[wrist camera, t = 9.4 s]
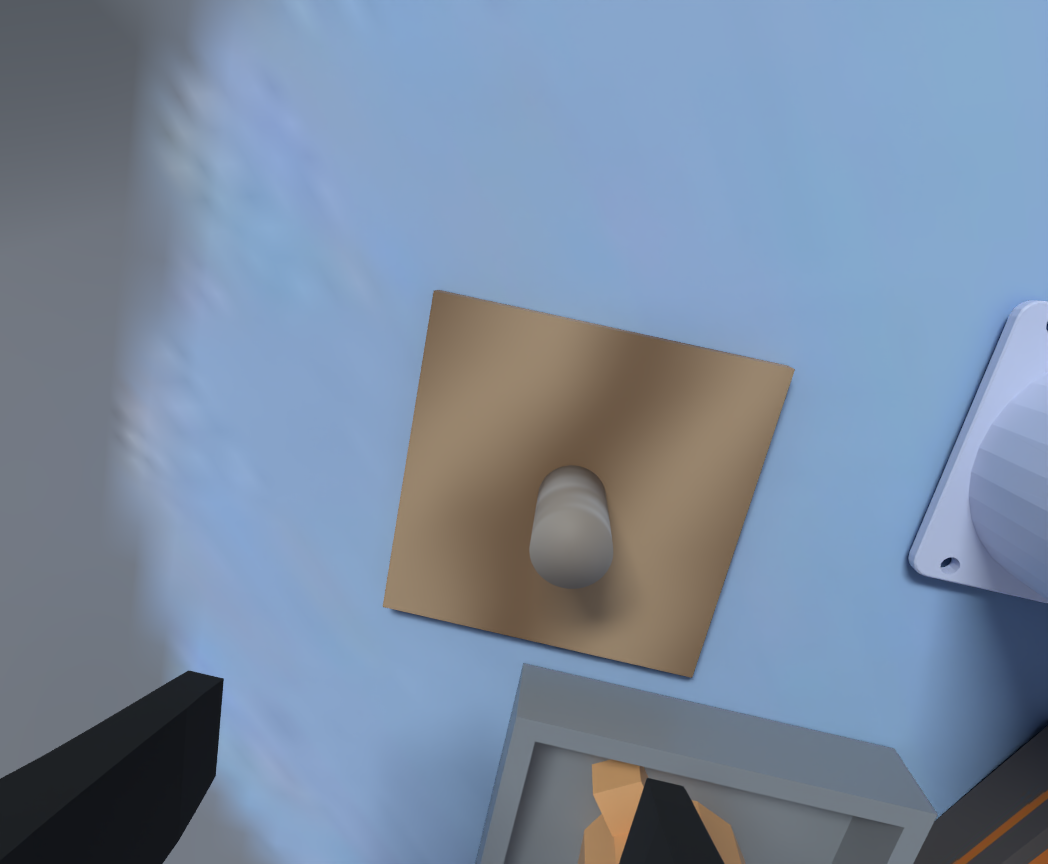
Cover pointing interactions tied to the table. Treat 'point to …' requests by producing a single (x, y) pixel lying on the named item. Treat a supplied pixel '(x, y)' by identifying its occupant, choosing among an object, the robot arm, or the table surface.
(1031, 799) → the electronic device
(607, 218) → the table surface
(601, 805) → the ring
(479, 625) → the tan square plate
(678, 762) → the tray
